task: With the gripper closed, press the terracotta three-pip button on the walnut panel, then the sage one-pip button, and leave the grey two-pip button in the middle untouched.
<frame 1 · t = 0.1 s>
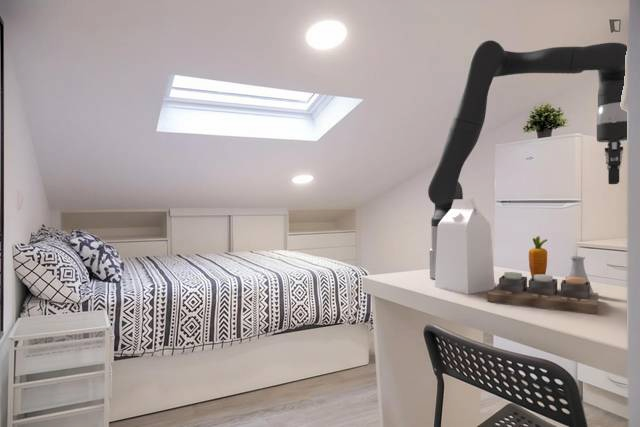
hand: (613, 183, 109), 29 cm above the table, fingers open, 8 cm apart
carrot: (538, 287, 119), on the table
milk: (464, 288, 121), on the table
button board: (542, 301, 103), on the table
grey button: (543, 279, 104), point 5 cm above the table, slide at 0.0 cm
flask: (578, 294, 110), on the table
sage button: (513, 276, 108), point 5 cm above the table, slide at 0.0 cm
terracotta button: (575, 281, 100), point 5 cm above the table, slide at 0.0 cm
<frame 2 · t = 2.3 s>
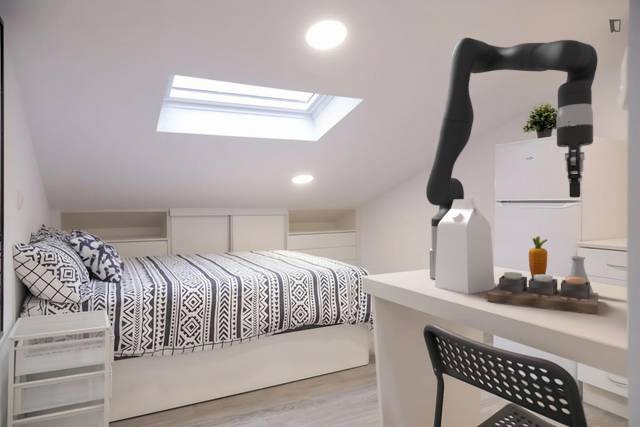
hand: (574, 197, 100), 26 cm above the table, fingers closed
nothing on the table moved.
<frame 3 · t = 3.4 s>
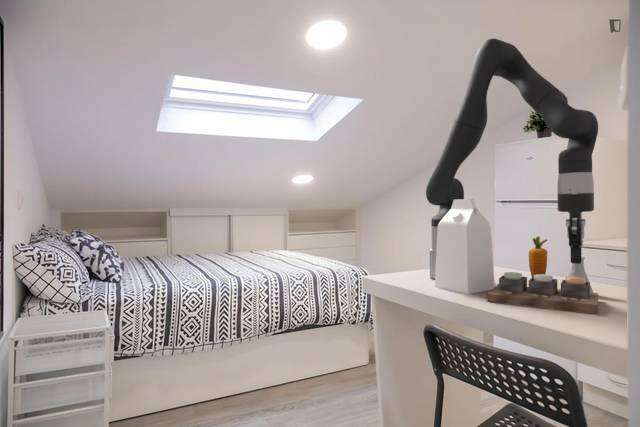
hand: (576, 263, 100), 10 cm above the table, fingers closed
nothing on the table moved.
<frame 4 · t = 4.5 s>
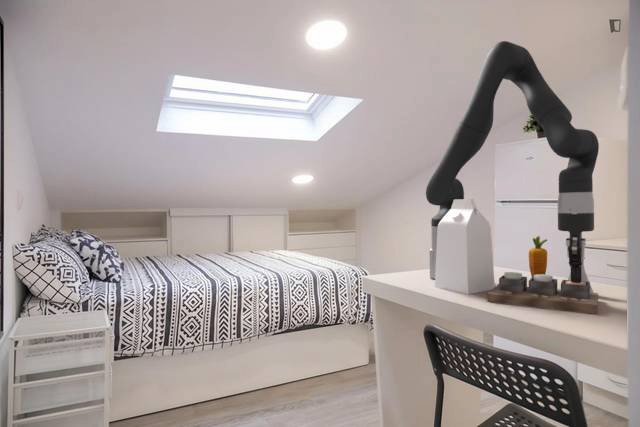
hand: (576, 282, 100), 5 cm above the table, fingers closed
terracotta button: (575, 285, 100), point 4 cm above the table, slide at 1.0 cm, touching gripper
everything else where it was.
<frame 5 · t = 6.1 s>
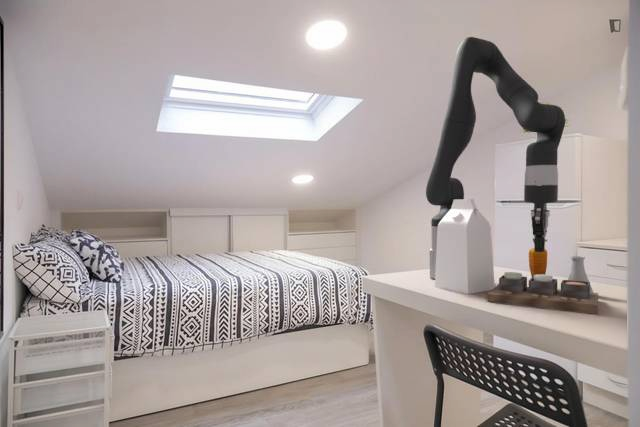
hand: (539, 251, 105), 12 cm above the table, fingers closed
terracotta button: (575, 287, 100), point 4 cm above the table, slide at 1.3 cm
everything else where it was.
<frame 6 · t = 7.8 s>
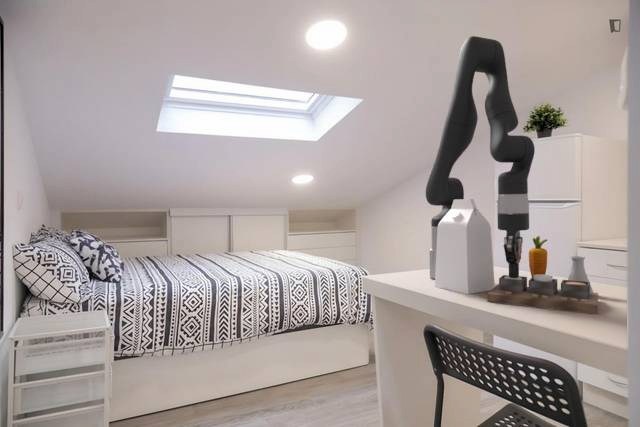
hand: (513, 277, 108), 5 cm above the table, fingers closed
sage button: (513, 280, 108), point 4 cm above the table, slide at 1.1 cm, touching gripper
everything else where it was.
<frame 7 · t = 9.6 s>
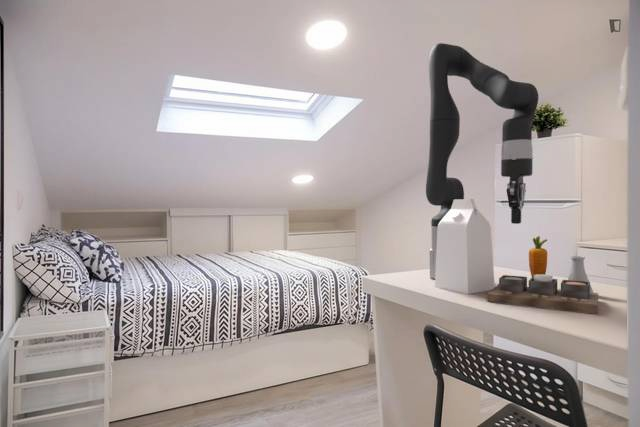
hand: (516, 223, 110), 19 cm above the table, fingers closed
sage button: (513, 281, 108), point 4 cm above the table, slide at 1.3 cm
everything else where it was.
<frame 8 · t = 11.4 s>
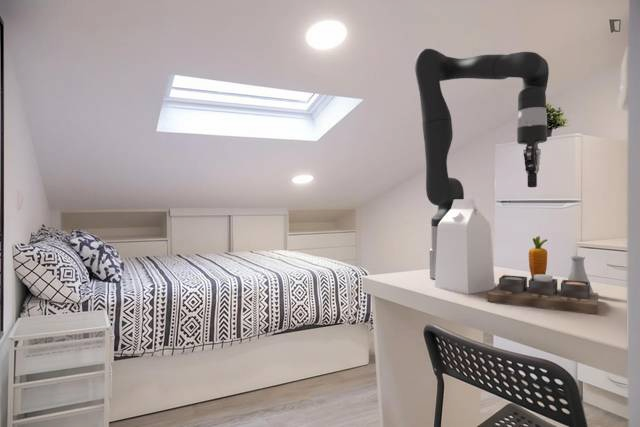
hand: (532, 187, 117), 29 cm above the table, fingers closed
nothing on the table moved.
at the end: terracotta button slide at 1.3 cm; sage button slide at 1.3 cm; grey button slide at 0.0 cm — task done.
